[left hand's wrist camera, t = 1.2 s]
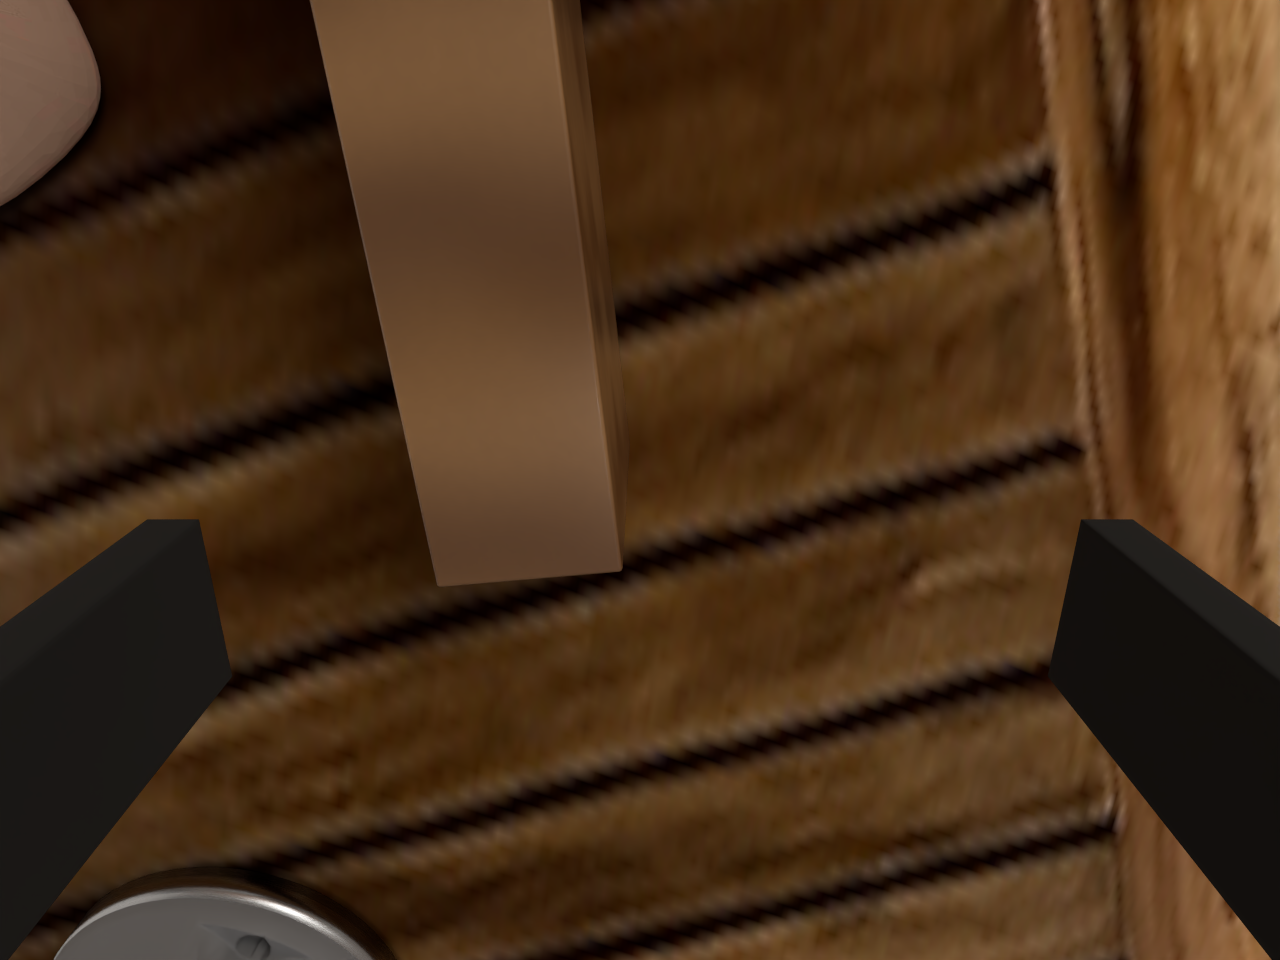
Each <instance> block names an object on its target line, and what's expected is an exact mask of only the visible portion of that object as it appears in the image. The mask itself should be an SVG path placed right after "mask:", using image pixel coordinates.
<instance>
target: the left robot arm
mask: <svg viewBox="0 0 1280 960" xmlns="http://www.w3.org/2000/svg"><path fill="white" fill-rule="evenodd" d="M231 677H232V674H231V669H230V664H229V660H228V655H227V650H226V645H225V641H224V636H223V631H222V627H221V622H220V617H219V612H218V608H217V603H216V598H215V594H214V589H213V584H212V579H211V575H210V570H209V565H208V561H207V556H206V551H205V546H204V542H203V537H202V532H201V528H200V523H199V520H146V521H145V522H143V523H142V524H140V525H139V526H138V527H136V528H135V529H134V530H132V531H131V532H130V533H128V534H127V535H125V536H124V537H123V538H121V539H120V540H119V541H117V542H116V543H114V544H113V545H112V546H110V547H109V548H108V549H106V550H105V551H103V552H102V553H101V554H99V555H98V556H97V557H95V558H94V559H93V560H91V561H90V562H88V563H87V564H86V565H84V566H83V567H82V568H80V569H79V570H77V571H76V572H75V573H73V574H72V575H71V576H69V577H68V578H66V579H65V580H64V581H62V582H61V583H60V584H58V585H57V586H56V587H54V588H53V589H51V590H50V591H49V592H47V593H46V594H45V595H43V596H42V597H40V598H39V599H38V600H36V601H35V602H34V603H32V604H31V605H29V606H28V607H27V608H25V609H24V610H23V611H21V612H20V613H19V614H17V615H16V616H14V617H13V618H12V619H10V620H9V621H8V622H6V623H5V624H3V625H2V626H1V627H0V960H8V959H9V958H10V957H11V955H12V954H13V953H14V952H15V950H16V949H17V948H18V947H19V945H20V944H21V943H22V941H23V940H24V939H25V938H26V936H27V935H28V934H29V933H30V931H31V930H32V929H33V928H34V926H35V925H36V924H37V923H38V921H39V920H40V919H41V917H42V916H43V915H44V914H45V912H46V911H47V910H48V909H49V907H50V906H51V905H52V904H53V902H54V901H55V900H56V898H57V897H58V896H59V895H60V893H61V892H62V891H63V890H64V888H65V887H66V886H67V885H68V883H69V882H70V881H71V879H72V878H73V877H74V876H75V874H76V873H77V872H78V871H79V869H80V868H81V867H82V866H83V864H84V863H85V862H86V861H87V859H88V858H89V857H90V855H91V854H92V853H93V852H94V850H95V849H96V848H97V847H98V845H99V844H100V843H101V842H102V840H103V839H104V838H105V836H106V835H107V834H108V833H109V831H110V830H111V829H112V828H113V826H114V825H115V824H116V823H117V821H118V820H119V819H120V817H121V816H122V815H123V814H124V812H125V811H126V810H127V809H128V807H129V806H130V805H131V804H132V802H133V801H134V800H135V799H136V797H137V796H138V795H139V793H140V792H141V791H142V790H143V788H144V787H145V786H146V785H147V783H148V782H149V781H150V780H151V778H152V777H153V776H154V774H155V773H156V772H157V771H158V769H159V768H160V767H161V766H162V764H163V763H164V762H165V761H166V759H167V758H168V757H169V755H170V754H171V753H172V752H173V750H174V749H175V748H176V747H177V745H178V744H179V743H180V742H181V740H182V739H183V738H184V736H185V735H186V734H187V733H188V731H189V730H190V729H191V728H192V726H193V725H194V724H195V723H196V721H197V720H198V719H199V718H200V716H201V715H202V714H203V712H204V711H205V710H206V709H207V707H208V706H209V705H210V704H211V702H212V701H213V700H214V699H215V697H216V696H217V695H218V693H219V692H220V691H221V690H222V688H223V687H224V686H225V685H226V683H227V682H228V681H229V680H230V678H231ZM1048 677H1049V678H1050V680H1051V681H1052V682H1053V683H1054V685H1055V686H1056V687H1057V688H1058V690H1059V691H1060V692H1061V693H1062V695H1063V696H1064V697H1065V699H1066V700H1067V701H1068V702H1069V704H1070V705H1071V706H1072V707H1073V709H1074V710H1075V711H1076V712H1077V714H1078V715H1079V716H1080V718H1081V719H1082V720H1083V721H1084V723H1085V724H1086V725H1087V726H1088V728H1089V729H1090V730H1091V731H1092V733H1093V734H1094V735H1095V736H1096V738H1097V739H1098V740H1099V742H1100V743H1101V744H1102V745H1103V747H1104V748H1105V749H1106V750H1107V752H1108V753H1109V754H1110V755H1111V757H1112V758H1113V759H1114V761H1115V762H1116V763H1117V764H1118V766H1119V767H1120V768H1121V769H1122V771H1123V772H1124V773H1125V774H1126V776H1127V777H1128V778H1129V780H1130V781H1131V782H1132V783H1133V785H1134V786H1135V787H1136V788H1137V790H1138V791H1139V792H1140V793H1141V795H1142V796H1143V797H1144V799H1145V800H1146V801H1147V802H1148V804H1149V805H1150V806H1151V807H1152V809H1153V810H1154V811H1155V812H1156V814H1157V815H1158V816H1159V817H1160V819H1161V820H1162V821H1163V823H1164V824H1165V825H1166V826H1167V828H1168V829H1169V830H1170V831H1171V833H1172V834H1173V835H1174V836H1175V838H1176V839H1177V840H1178V842H1179V843H1180V844H1181V845H1182V847H1183V848H1184V849H1185V850H1186V852H1187V853H1188V854H1189V855H1190V857H1191V858H1192V859H1193V861H1194V862H1195V863H1196V864H1197V866H1198V867H1199V868H1200V869H1201V871H1202V872H1203V873H1204V874H1205V876H1206V877H1207V878H1208V879H1209V881H1210V882H1211V883H1212V885H1213V886H1214V887H1215V888H1216V890H1217V891H1218V892H1219V893H1220V895H1221V896H1222V897H1223V898H1224V900H1225V901H1226V902H1227V904H1228V905H1229V906H1230V907H1231V909H1232V910H1233V911H1234V912H1235V914H1236V915H1237V916H1238V917H1239V919H1240V920H1241V921H1242V923H1243V924H1244V925H1245V926H1246V928H1247V929H1248V930H1249V931H1250V933H1251V934H1252V935H1253V936H1254V938H1255V939H1256V940H1257V941H1258V943H1259V944H1260V945H1261V947H1262V948H1263V949H1264V950H1265V952H1266V953H1267V954H1268V955H1269V957H1270V958H1271V959H1272V960H1280V627H1279V626H1278V625H1277V624H1275V623H1274V622H1272V621H1271V620H1270V619H1268V618H1267V617H1266V616H1264V615H1263V614H1261V613H1260V612H1259V611H1257V610H1256V609H1255V608H1253V607H1252V606H1251V605H1249V604H1248V603H1246V602H1245V601H1244V600H1242V599H1241V598H1240V597H1238V596H1237V595H1235V594H1234V593H1233V592H1231V591H1230V590H1229V589H1227V588H1226V587H1224V586H1223V585H1222V584H1220V583H1219V582H1218V581H1216V580H1215V579H1214V578H1212V577H1211V576H1209V575H1208V574H1207V573H1205V572H1204V571H1203V570H1201V569H1200V568H1198V567H1197V566H1196V565H1194V564H1193V563H1192V562H1190V561H1189V560H1187V559H1186V558H1185V557H1183V556H1182V555H1181V554H1179V553H1178V552H1177V551H1175V550H1174V549H1172V548H1171V547H1170V546H1168V545H1167V544H1166V543H1164V542H1163V541H1161V540H1160V539H1159V538H1157V537H1156V536H1155V535H1153V534H1152V533H1150V532H1149V531H1148V530H1146V529H1145V528H1144V527H1142V526H1141V525H1140V524H1138V523H1137V522H1135V521H1134V520H1081V523H1080V528H1079V532H1078V537H1077V542H1076V546H1075V551H1074V556H1073V561H1072V565H1071V570H1070V575H1069V579H1068V584H1067V589H1066V594H1065V598H1064V603H1063V608H1062V612H1061V617H1060V622H1059V627H1058V631H1057V636H1056V641H1055V645H1054V650H1053V655H1052V660H1051V664H1050V669H1049V674H1048ZM54 960H396V959H395V957H394V955H393V954H392V952H391V951H390V950H389V948H388V947H387V946H386V944H385V943H384V942H383V941H382V939H381V938H380V937H379V936H378V935H377V934H376V933H375V932H374V931H373V930H372V929H371V928H370V927H369V926H368V925H367V924H365V923H364V922H363V921H362V920H361V919H360V918H358V917H357V916H356V915H354V914H353V913H352V912H350V911H349V910H348V909H346V908H344V907H343V906H341V905H340V904H338V903H337V902H335V901H333V900H331V899H330V898H328V897H326V896H324V895H322V894H320V893H318V892H316V891H314V890H312V889H309V888H307V887H305V886H302V885H300V884H297V883H294V882H291V881H289V880H286V879H282V878H279V877H275V876H272V875H268V874H263V873H259V872H254V871H249V870H241V869H234V868H220V867H194V868H182V869H175V870H169V871H163V872H159V873H155V874H151V875H147V876H144V877H142V878H139V879H136V880H133V881H131V882H129V883H127V884H125V885H123V886H120V887H118V888H117V889H115V890H114V891H112V892H110V893H109V894H107V895H106V896H105V897H103V898H102V899H101V900H100V901H98V902H97V903H96V904H95V905H94V906H93V907H92V908H91V909H90V910H89V911H88V912H87V913H86V915H85V916H84V917H83V919H82V920H81V922H80V923H79V924H78V926H77V927H76V928H75V930H74V931H73V932H72V934H71V935H70V936H69V938H68V939H67V941H66V942H65V943H64V945H63V946H62V947H61V949H60V950H59V951H58V953H57V955H56V956H55V958H54Z"/></svg>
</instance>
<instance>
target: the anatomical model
mask: <svg viewBox="0 0 1280 960" xmlns="http://www.w3.org/2000/svg"><path fill="white" fill-rule="evenodd" d="M100 93H101V84H100V75H99V71H98V66H97V63H96V60H95V57H94V54H93V51H92V49H91V46H90V44H89V42H88V40H87V38H86V36H85V33H84V31H83V29H82V27H81V25H80V22H79V20H78V18H77V16H76V15H75V13H74V11H73V9H72V7H71V6H70V4H69V2H68V0H0V206H1V205H3V204H5V203H7V202H8V201H10V200H12V199H13V198H15V197H17V196H18V195H19V194H21V193H22V192H23V191H25V190H26V189H27V188H29V187H30V186H31V185H33V184H34V183H35V182H36V181H38V180H39V179H40V178H42V177H43V176H44V175H45V174H46V173H47V172H48V171H49V170H51V169H52V168H53V167H54V166H55V165H56V164H57V163H58V162H59V161H60V160H62V159H63V158H64V157H65V156H66V155H67V154H68V152H69V151H70V150H71V149H72V148H73V147H74V146H75V145H76V143H77V142H78V141H79V140H80V139H81V138H82V136H83V135H84V133H85V132H86V131H87V129H88V128H89V126H90V125H91V123H92V121H93V119H94V116H95V114H96V112H97V110H98V105H99V101H100Z"/></svg>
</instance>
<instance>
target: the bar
mask: <svg viewBox="0 0 1280 960" xmlns="http://www.w3.org/2000/svg"><path fill="white" fill-rule="evenodd" d="M310 4H311V8H312V13H313V18H314V22H315V27H316V31H317V36H318V41H319V45H320V50H321V54H322V59H323V64H324V68H325V73H326V77H327V82H328V87H329V91H330V96H331V100H332V105H333V109H334V114H335V119H336V123H337V128H338V132H339V137H340V142H341V146H342V151H343V155H344V160H345V165H346V169H347V174H348V178H349V183H350V188H351V192H352V197H353V201H354V206H355V210H356V215H357V220H358V224H359V229H360V233H361V238H362V243H363V247H364V252H365V256H366V261H367V266H368V270H369V275H370V279H371V284H372V289H373V293H374V298H375V302H376V307H377V311H378V316H379V321H380V325H381V330H382V334H383V339H384V344H385V348H386V353H387V357H388V362H389V367H390V371H391V376H392V380H393V385H394V390H395V394H396V399H397V403H398V408H399V412H400V417H401V422H402V426H403V431H404V435H405V440H406V445H407V449H408V454H409V458H410V463H411V468H412V472H413V477H414V481H415V486H416V491H417V495H418V500H419V504H420V509H421V513H422V518H423V523H424V527H425V532H426V536H427V541H428V546H429V550H430V555H431V559H432V564H433V569H434V573H435V578H436V582H437V585H438V587H448V586H460V585H471V584H483V583H494V582H505V581H517V580H528V579H539V578H551V577H562V576H574V575H585V574H596V573H608V572H619V571H621V570H622V567H623V551H624V533H625V516H626V499H627V481H628V464H629V447H630V442H629V433H628V424H627V415H626V406H625V397H624V388H623V380H622V371H621V362H620V353H619V344H618V335H617V326H616V317H615V309H614V300H613V291H612V282H611V273H610V264H609V255H608V247H607V238H606V229H605V220H604V211H603V202H602V193H601V185H600V176H599V167H598V158H597V149H596V140H595V131H594V123H593V114H592V105H591V96H590V87H589V78H588V69H587V61H586V52H585V43H584V34H583V25H582V16H581V7H580V0H310Z"/></svg>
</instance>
